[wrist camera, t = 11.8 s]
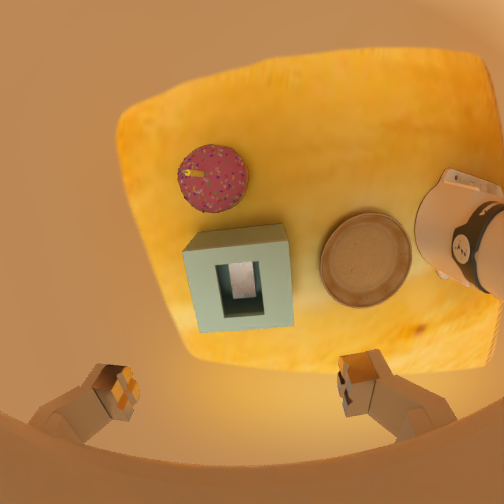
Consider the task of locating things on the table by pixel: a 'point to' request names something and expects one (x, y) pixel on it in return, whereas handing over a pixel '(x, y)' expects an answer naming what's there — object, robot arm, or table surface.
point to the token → (243, 279)
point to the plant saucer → (366, 260)
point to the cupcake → (213, 178)
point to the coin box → (219, 283)
